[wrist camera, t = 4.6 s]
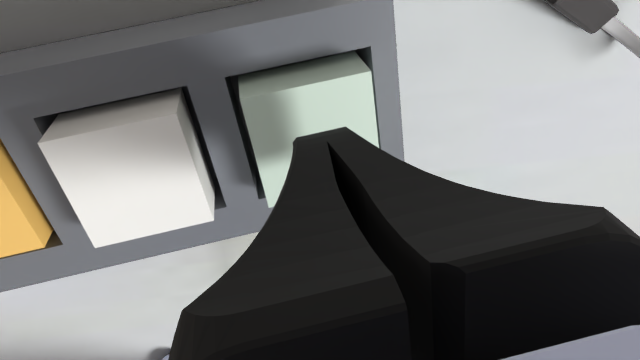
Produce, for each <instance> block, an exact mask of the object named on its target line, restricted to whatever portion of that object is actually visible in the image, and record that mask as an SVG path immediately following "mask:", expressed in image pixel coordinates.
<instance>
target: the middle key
mask: <svg viewBox="0 0 640 360" xmlns="http://www.w3.org/2000/svg"><path fill="white" fill-rule="evenodd" d="M38 145H39V147H40V149H41V151H42V153H43V154H44V156H45V158H46V160H47V162H48V164H49V165H50V167H51V169H52V171H53V173H54V174H55V176H56V178H57V180H58V182H59V184H60V185H61V187H62V189H63V191H64V193H65V195H66V196H67V198H68V200H69V202H70V204H71V206H72V207H73V209H74V211H75V213H76V215H77V216H78V218H79V220H80V222H81V224H82V226H83V227H84V229H85V231H86V233H87V235H88V237H89V238H90V240H91V242H92V244H93V246H94V247H95V248H98V247H102V246H107V245H111V244H115V243H120V242H124V241H128V240H133V239H137V238H141V237H146V236H150V235H154V234H158V233H163V232H167V231H171V230H176V229H180V228H184V227H189V226H193V225H197V224H202V223H206V222H210V221H214V200H215V186H214V184H213V181H212V178H211V175H210V172H209V169H208V166H207V163H206V160H205V157H204V154H203V151H202V148H201V145H200V142H199V139H198V136H197V133H196V130H195V127H194V124H193V121H192V118H191V115H190V112H189V109H188V106H187V103H186V100H185V97H184V94H183V91H182V88H178V89H174V90H169V91H164V92H160V93H155V94H150V95H146V96H141V97H136V98H131V99H127V100H122V101H117V102H113V103H108V104H103V105H99V106H94V107H89V108H85V109H80V110H75V111H71V112H66V113H61V114H59V115H58V116H57V117H56V119H55V120H54V121H53V123H52V124H51V125H50V127H49V128H48V130H47V131H46V132H45V134H44V135H43V136H42V138H41V139H40V140H39V142H38Z"/></svg>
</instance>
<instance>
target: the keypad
mask: <svg viewBox="0 0 640 360" xmlns="http://www.w3.org/2000/svg"><path fill="white" fill-rule="evenodd" d="M352 51H355V52H356V53H357V54H358V56H359V57H360V58H361V59H362V61H363V62H364V63H365V64H366V65H367V67H368V68H369V69H370V70H371V74H372V84H373V94H374V104H375V113H376V123H377V133H378V143H379V148H380V149H382V150H383V151H385V152H387V153H389V154H390V155H392V156H394V157H396V158H398V159H400V160H402V161H404V149H403V134H402V120H401V106H400V92H399V78H398V63H397V49H396V35H395V21H394V7H393V0H260V1H256V2H251V3H246V4H241V5H236V6H231V7H226V8H221V9H216V10H211V11H207V12H202V13H197V14H192V15H187V16H182V17H177V18H172V19H167V20H162V21H157V22H153V23H148V24H143V25H138V26H133V27H128V28H123V29H118V30H113V31H108V32H103V33H99V34H94V35H89V36H84V37H79V38H74V39H69V40H64V41H59V42H54V43H50V44H45V45H40V46H35V47H30V48H25V49H20V50H15V51H10V52H5V53H0V139H1V140H2V142H3V144H4V145H5V147H6V149H7V151H8V152H9V154H10V156H11V157H12V159H13V161H14V162H15V164H16V166H17V167H18V169H19V171H20V172H21V174H22V176H23V178H24V179H25V181H26V183H27V184H28V186H29V188H30V189H31V191H32V193H33V194H34V196H35V198H36V199H37V201H38V203H39V205H40V206H41V208H42V210H43V211H44V213H45V215H46V216H47V218H48V220H49V221H50V223H51V225H52V226H53V228H54V229H53V231H52V233H51V235H50V237H49V239H48V241H47V243H46V245H45V247H44V248H40V249H36V250H31V251H27V252H23V253H18V254H14V255H10V256H5V257H1V258H0V292H4V291H8V290H12V289H16V288H21V287H25V286H29V285H33V284H38V283H42V282H46V281H50V280H55V279H59V278H63V277H67V276H72V275H76V274H80V273H85V272H89V271H93V270H97V269H102V268H106V267H110V266H114V265H119V264H123V263H127V262H131V261H136V260H140V259H144V258H148V257H153V256H157V255H161V254H165V253H170V252H174V251H178V250H182V249H187V248H191V247H195V246H199V245H204V244H208V243H212V242H216V241H221V240H225V239H229V238H233V237H238V236H242V235H246V234H250V233H255V232H259V231H260V230H261V229H262V227H263V226H264V224H265V222H266V221H267V219H268V217H269V215H270V214H271V212H272V210H273V208H274V207H271V208H269V207H268V203H267V199H266V195H265V192H264V188H263V184H262V181H261V177H260V173H259V169H258V166H257V162H256V158H255V155H254V151H253V147H252V143H251V140H250V136H249V132H248V128H247V125H246V121H245V117H244V114H243V110H242V106H241V102H240V97H239V84H238V76H239V75H244V74H249V73H253V72H258V71H263V70H267V69H272V68H277V67H282V66H286V65H291V64H296V63H300V62H305V61H310V60H314V59H319V58H324V57H328V56H333V55H338V54H342V53H347V52H352ZM178 88H182V91H183V94H184V97H185V100H186V103H187V106H188V109H189V112H190V115H191V118H192V121H193V124H194V127H195V130H196V133H197V136H198V139H199V142H200V145H201V148H202V151H203V154H204V157H205V160H206V163H207V166H208V169H209V172H210V175H211V178H212V181H213V184H214V186H215V200H214V221H210V222H206V223H202V224H197V225H193V226H189V227H184V228H180V229H176V230H171V231H167V232H163V233H158V234H154V235H150V236H146V237H141V238H137V239H133V240H128V241H124V242H120V243H115V244H111V245H107V246H102V247H98V248H95V247H94V246H93V244H92V242H91V240H90V238H89V237H88V235H87V233H86V231H85V229H84V227H83V226H82V224H81V222H80V220H79V218H78V216H77V215H76V213H75V211H74V209H73V207H72V206H71V204H70V202H69V200H68V198H67V196H66V195H65V193H64V191H63V189H62V187H61V185H60V184H59V182H58V180H57V178H56V176H55V174H54V173H53V171H52V169H51V167H50V165H49V164H48V162H47V160H46V158H45V156H44V154H43V153H42V151H41V149H40V147H39V145H38V142H39V140H40V139H41V138H42V136H43V135H44V134H45V132H46V131H47V130H48V128H49V127H50V125H51V124H52V123H53V121H54V120H55V119H56V117H57V116H58V115H59V114H61V113H66V112H71V111H75V110H80V109H85V108H89V107H94V106H99V105H103V104H108V103H113V102H117V101H122V100H127V99H131V98H136V97H141V96H146V95H150V94H155V93H160V92H164V91H169V90H174V89H178Z"/></svg>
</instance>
